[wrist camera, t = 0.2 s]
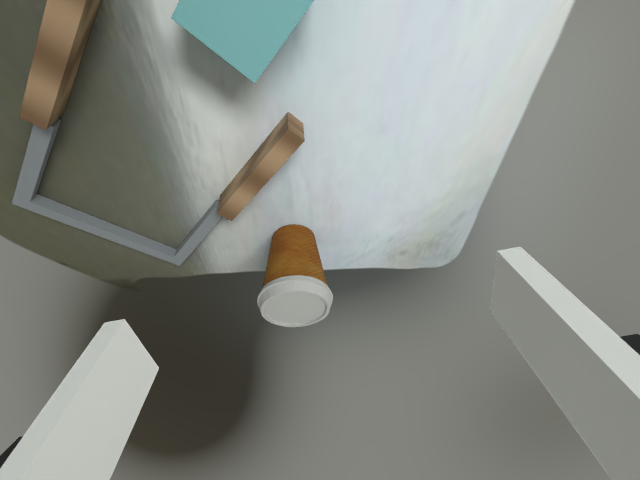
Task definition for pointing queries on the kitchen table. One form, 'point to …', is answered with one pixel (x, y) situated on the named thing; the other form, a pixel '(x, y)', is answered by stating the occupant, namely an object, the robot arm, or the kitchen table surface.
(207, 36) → the teal block
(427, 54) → the kitchen table surface
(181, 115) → the kitchen table surface
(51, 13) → the wooden guide rails
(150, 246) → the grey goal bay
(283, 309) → the disposable coffee cup
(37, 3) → the kitchen table surface
